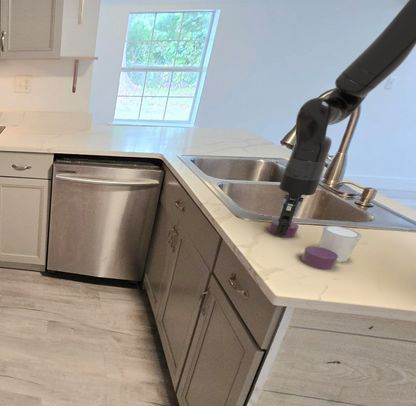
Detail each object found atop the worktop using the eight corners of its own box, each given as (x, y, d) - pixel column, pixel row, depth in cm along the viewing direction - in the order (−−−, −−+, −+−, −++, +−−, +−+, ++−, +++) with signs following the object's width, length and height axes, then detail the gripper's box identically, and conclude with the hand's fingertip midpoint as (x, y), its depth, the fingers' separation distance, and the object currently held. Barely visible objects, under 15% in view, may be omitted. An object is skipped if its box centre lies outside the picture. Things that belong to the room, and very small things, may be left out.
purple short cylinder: (330, 260, 90) (334, 249, 89) (336, 272, 85) (341, 261, 84) (299, 254, 93) (302, 244, 92) (303, 265, 88) (308, 255, 87)
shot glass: (344, 266, 88) (356, 240, 85) (309, 254, 93) (318, 229, 90) (354, 257, 91) (365, 232, 88) (319, 246, 96) (329, 222, 93)
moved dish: (293, 230, 104) (296, 221, 103) (297, 239, 100) (300, 230, 98) (267, 226, 107) (270, 217, 106) (269, 234, 102) (273, 225, 101)
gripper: (317, 184, 89) (295, 244, 96) (323, 170, 98) (303, 225, 105) (279, 178, 94) (261, 235, 101) (288, 165, 103) (270, 218, 110)
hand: (282, 230), depth 103 cm, fingers closed on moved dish, 6 cm apart
